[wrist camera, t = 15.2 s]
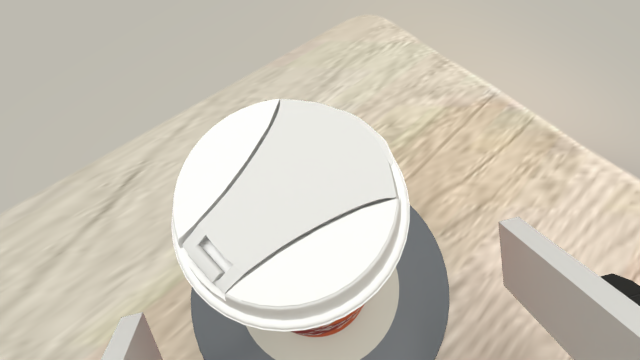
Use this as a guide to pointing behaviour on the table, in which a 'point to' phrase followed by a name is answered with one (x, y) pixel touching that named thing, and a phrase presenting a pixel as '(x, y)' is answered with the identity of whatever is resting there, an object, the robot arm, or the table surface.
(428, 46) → the table surface
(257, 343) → the saucer
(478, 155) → the table surface
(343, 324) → the coffee cup
